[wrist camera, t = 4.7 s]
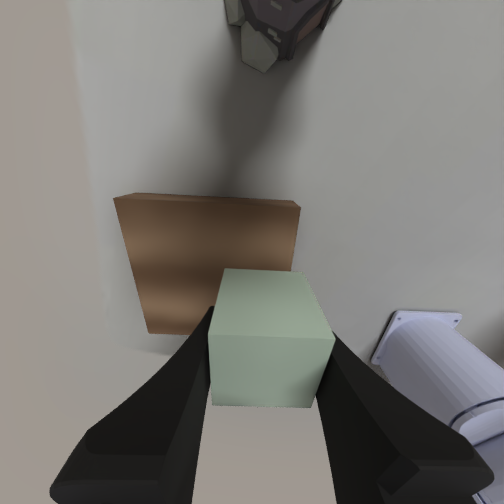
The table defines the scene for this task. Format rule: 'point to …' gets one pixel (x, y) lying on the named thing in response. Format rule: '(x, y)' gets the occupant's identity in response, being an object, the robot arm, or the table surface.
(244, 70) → the table surface
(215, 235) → the walnut plinth
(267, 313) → the sage cube
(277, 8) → the model tower
